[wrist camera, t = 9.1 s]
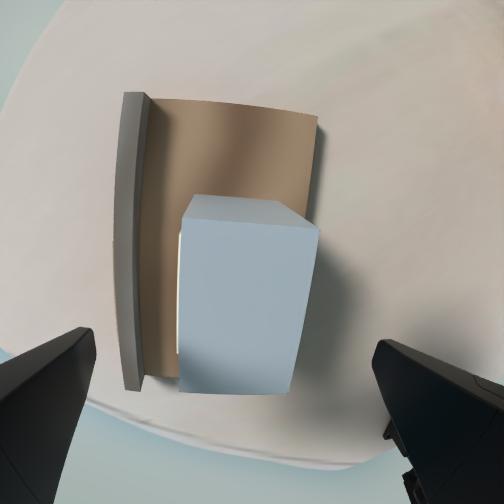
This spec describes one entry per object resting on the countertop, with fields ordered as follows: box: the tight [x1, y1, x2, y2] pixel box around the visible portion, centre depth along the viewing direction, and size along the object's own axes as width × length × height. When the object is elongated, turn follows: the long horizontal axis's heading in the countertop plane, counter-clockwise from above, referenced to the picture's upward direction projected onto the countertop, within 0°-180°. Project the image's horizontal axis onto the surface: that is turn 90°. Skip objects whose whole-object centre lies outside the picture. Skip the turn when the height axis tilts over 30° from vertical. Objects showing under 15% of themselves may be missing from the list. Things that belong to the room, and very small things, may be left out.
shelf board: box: [113, 92, 318, 392], centre depth 17 cm, size 10×17×3 cm, turn 174°
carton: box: [177, 194, 320, 395], centre depth 14 cm, size 5×7×7 cm
